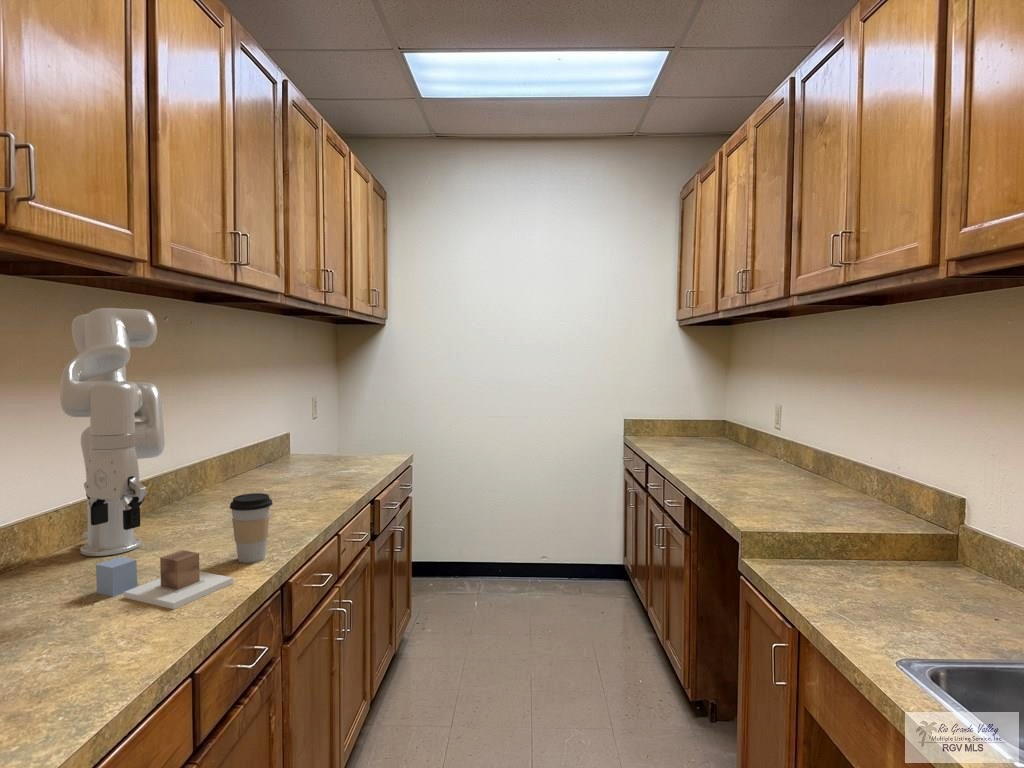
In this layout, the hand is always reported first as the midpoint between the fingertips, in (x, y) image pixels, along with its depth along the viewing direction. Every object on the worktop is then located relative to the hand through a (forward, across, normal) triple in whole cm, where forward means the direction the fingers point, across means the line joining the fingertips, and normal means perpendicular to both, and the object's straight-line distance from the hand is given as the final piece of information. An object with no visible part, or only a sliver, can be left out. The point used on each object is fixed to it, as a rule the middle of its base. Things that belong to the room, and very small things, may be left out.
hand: (115, 525), depth 120 cm
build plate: (+14, +11, +6) cm, 19 cm away
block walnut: (+12, +11, +6) cm, 18 cm away
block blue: (+14, -1, 0) cm, 14 cm away
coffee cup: (+14, +10, +26) cm, 31 cm away
